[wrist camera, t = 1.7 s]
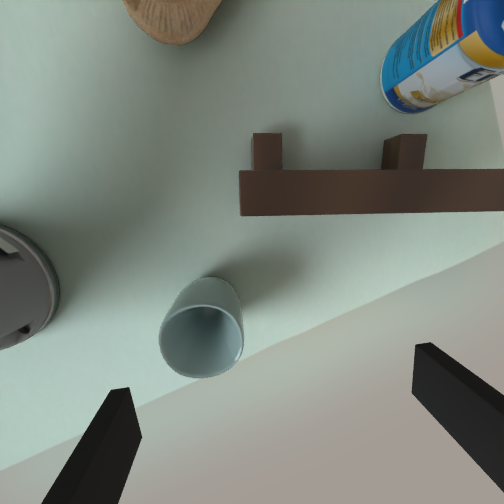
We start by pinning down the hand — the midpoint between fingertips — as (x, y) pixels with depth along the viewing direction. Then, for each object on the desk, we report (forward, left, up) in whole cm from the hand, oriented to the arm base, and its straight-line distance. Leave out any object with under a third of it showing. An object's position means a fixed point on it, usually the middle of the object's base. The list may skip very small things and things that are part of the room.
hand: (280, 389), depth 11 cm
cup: (-5, -4, -21) cm, 22 cm away
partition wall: (+10, +11, -20) cm, 25 cm away
